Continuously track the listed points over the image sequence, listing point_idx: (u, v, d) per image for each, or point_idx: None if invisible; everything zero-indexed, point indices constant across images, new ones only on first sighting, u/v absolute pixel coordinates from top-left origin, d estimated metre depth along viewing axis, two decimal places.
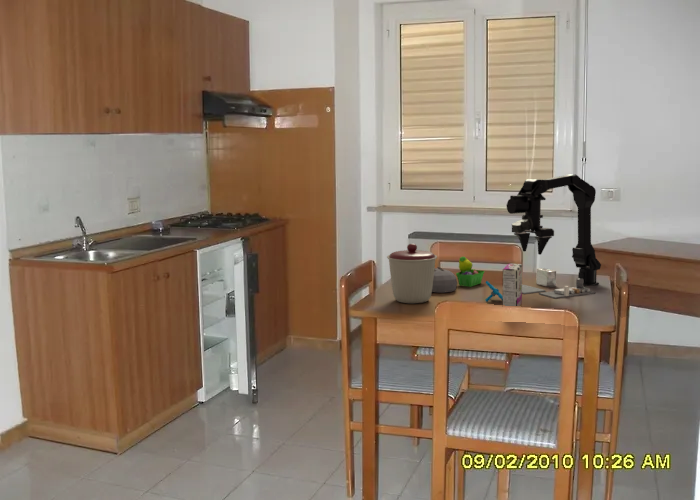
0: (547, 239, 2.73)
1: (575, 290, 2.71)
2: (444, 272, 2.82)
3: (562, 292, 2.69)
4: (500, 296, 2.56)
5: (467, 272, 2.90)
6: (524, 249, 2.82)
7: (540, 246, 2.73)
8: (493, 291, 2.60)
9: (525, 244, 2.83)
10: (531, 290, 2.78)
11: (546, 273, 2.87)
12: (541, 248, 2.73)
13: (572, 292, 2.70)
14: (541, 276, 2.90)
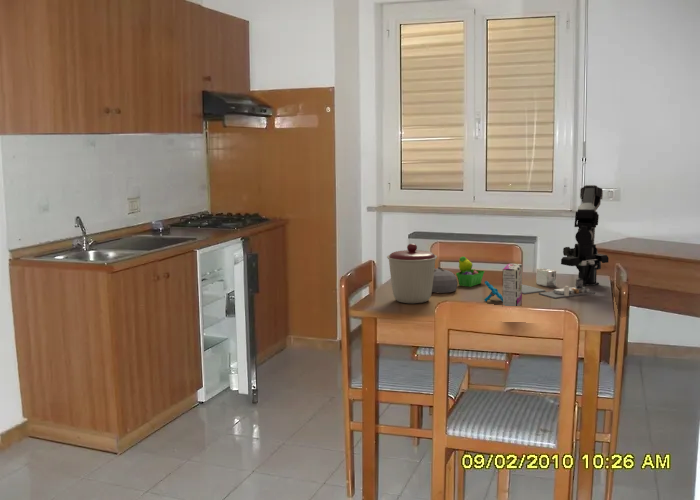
0: (584, 268, 2.73)
1: (574, 290, 2.71)
2: (444, 272, 2.81)
3: (561, 292, 2.69)
4: (498, 296, 2.56)
5: (467, 272, 2.90)
6: None
7: (580, 273, 2.76)
8: (492, 291, 2.60)
9: None
10: (531, 290, 2.78)
11: (546, 273, 2.87)
12: (582, 276, 2.75)
13: (571, 292, 2.70)
14: (541, 276, 2.90)
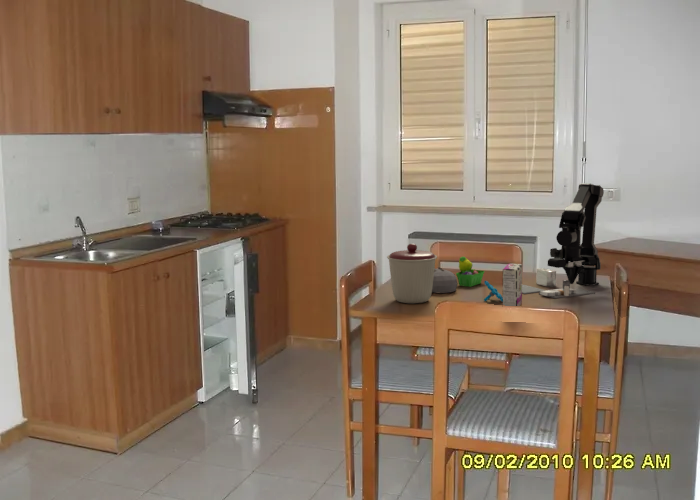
0: (570, 269, 2.70)
1: (561, 292, 2.69)
2: (444, 272, 2.81)
3: (548, 294, 2.67)
4: (498, 296, 2.56)
5: (467, 272, 2.90)
6: None
7: (567, 275, 2.73)
8: None
9: None
10: (531, 290, 2.78)
11: (546, 273, 2.87)
12: (569, 277, 2.73)
13: (558, 294, 2.67)
14: (541, 276, 2.90)
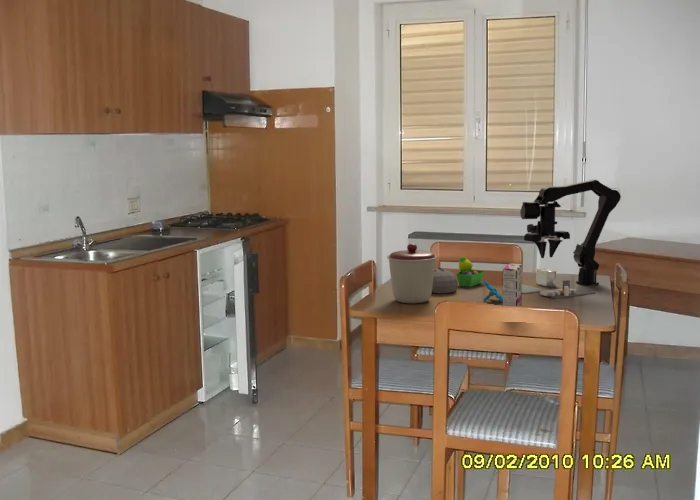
0: (542, 244, 2.85)
1: (561, 292, 2.69)
2: (444, 272, 2.81)
3: (548, 294, 2.67)
4: (497, 296, 2.57)
5: (467, 272, 2.90)
6: (550, 255, 2.90)
7: (539, 250, 2.88)
8: None
9: (552, 250, 2.90)
10: (531, 290, 2.78)
11: (546, 273, 2.87)
12: (541, 252, 2.88)
13: (558, 294, 2.67)
14: (541, 276, 2.90)
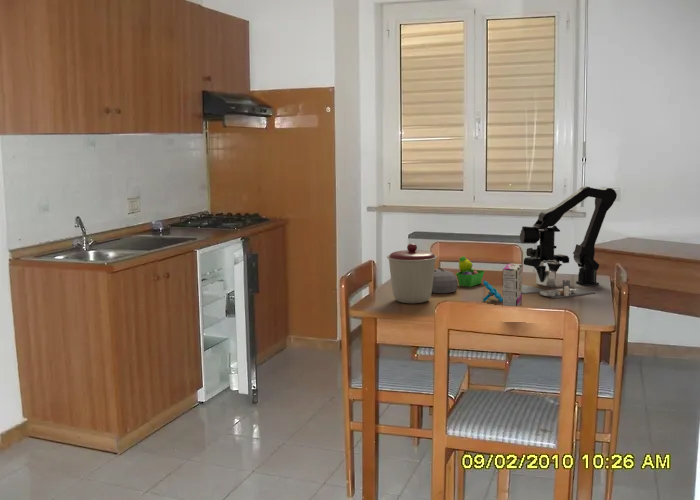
0: (541, 268, 2.87)
1: (561, 292, 2.69)
2: (444, 273, 2.80)
3: (548, 294, 2.67)
4: (496, 296, 2.57)
5: (467, 272, 2.90)
6: None
7: (538, 274, 2.90)
8: (490, 291, 2.61)
9: None
10: (531, 290, 2.78)
11: (546, 273, 2.87)
12: (540, 276, 2.89)
13: (558, 294, 2.67)
14: None
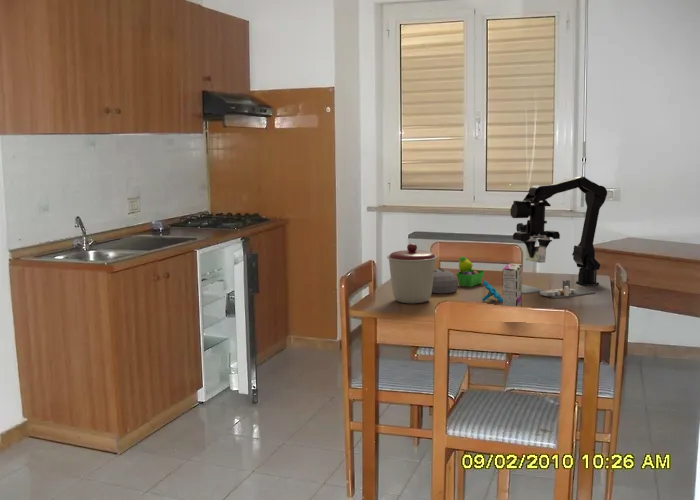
0: (530, 243, 2.81)
1: (561, 292, 2.69)
2: (445, 273, 2.80)
3: (548, 294, 2.67)
4: (495, 296, 2.57)
5: (467, 272, 2.90)
6: None
7: (528, 249, 2.84)
8: (490, 291, 2.61)
9: None
10: (531, 290, 2.78)
11: (536, 248, 2.82)
12: (529, 251, 2.84)
13: (558, 294, 2.67)
14: None
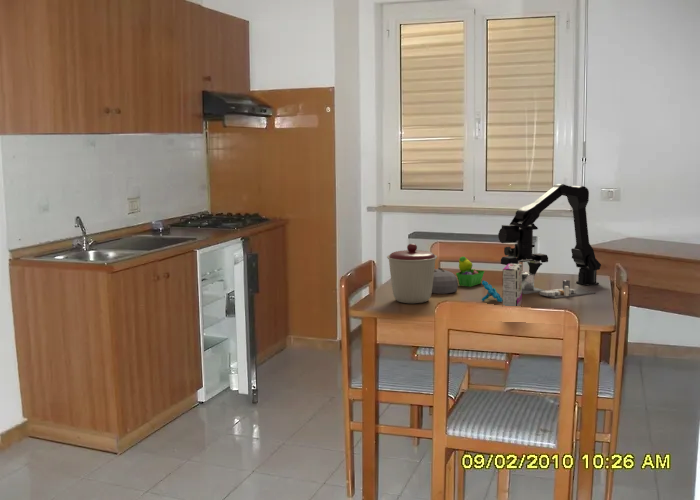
0: None
1: (561, 292, 2.69)
2: (445, 273, 2.80)
3: (548, 294, 2.67)
4: (494, 296, 2.57)
5: (467, 272, 2.90)
6: None
7: None
8: (489, 291, 2.61)
9: None
10: None
11: (524, 276, 2.78)
12: None
13: (558, 294, 2.67)
14: None
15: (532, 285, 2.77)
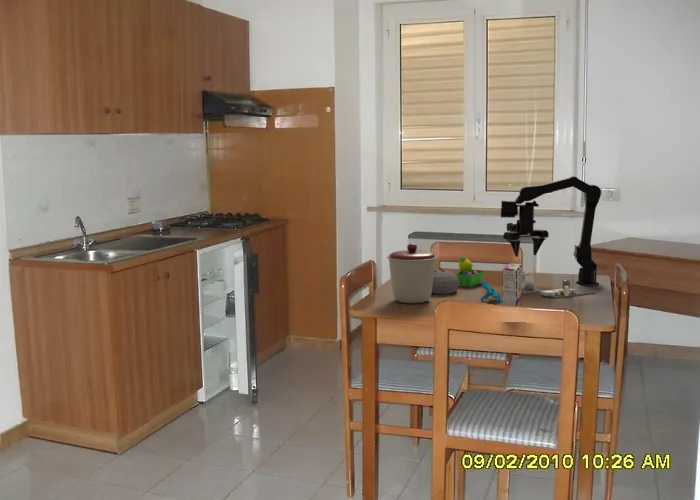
0: (515, 243, 2.90)
1: (561, 292, 2.69)
2: (445, 273, 2.79)
3: (548, 294, 2.67)
4: (492, 296, 2.57)
5: (467, 272, 2.90)
6: (534, 253, 2.97)
7: (513, 248, 2.93)
8: None
9: (536, 248, 2.96)
10: None
11: (524, 276, 2.78)
12: (514, 251, 2.93)
13: (558, 294, 2.67)
14: None
15: (532, 285, 2.77)
